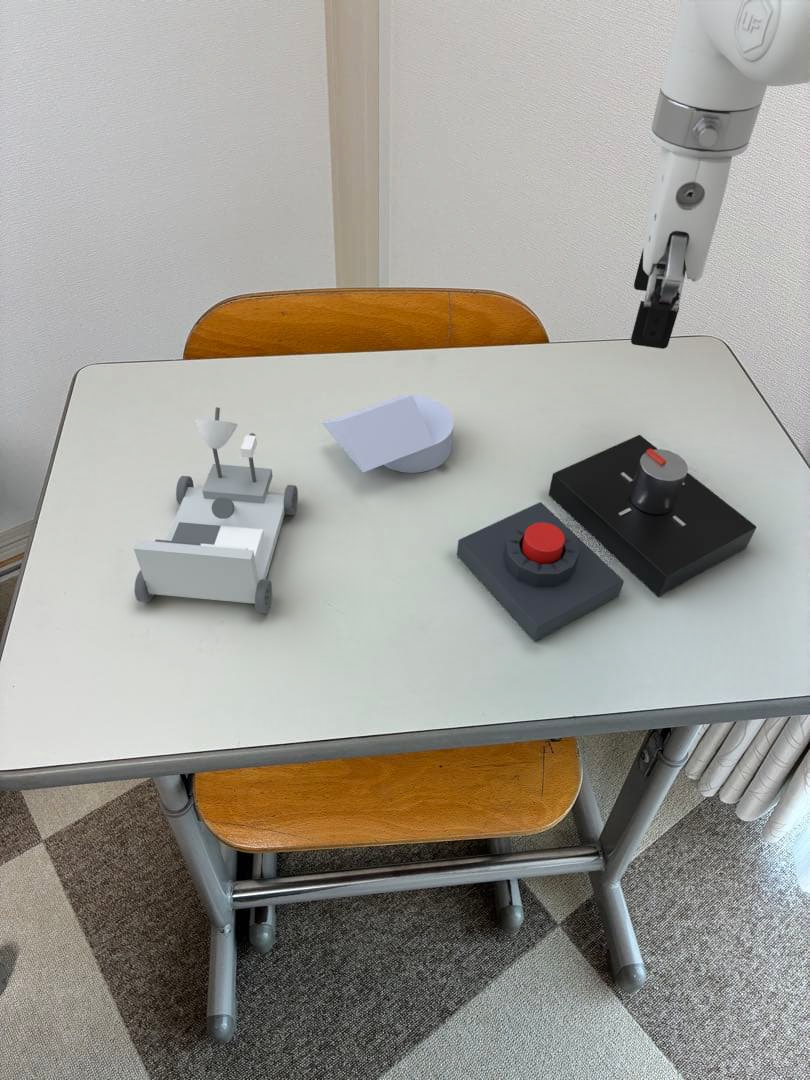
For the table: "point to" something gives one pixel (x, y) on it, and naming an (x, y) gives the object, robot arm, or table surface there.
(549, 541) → the button
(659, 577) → the stove panel
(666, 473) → the burner knob
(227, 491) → the toy car
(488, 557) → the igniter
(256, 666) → the table surface
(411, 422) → the wedge on round base
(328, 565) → the table surface
